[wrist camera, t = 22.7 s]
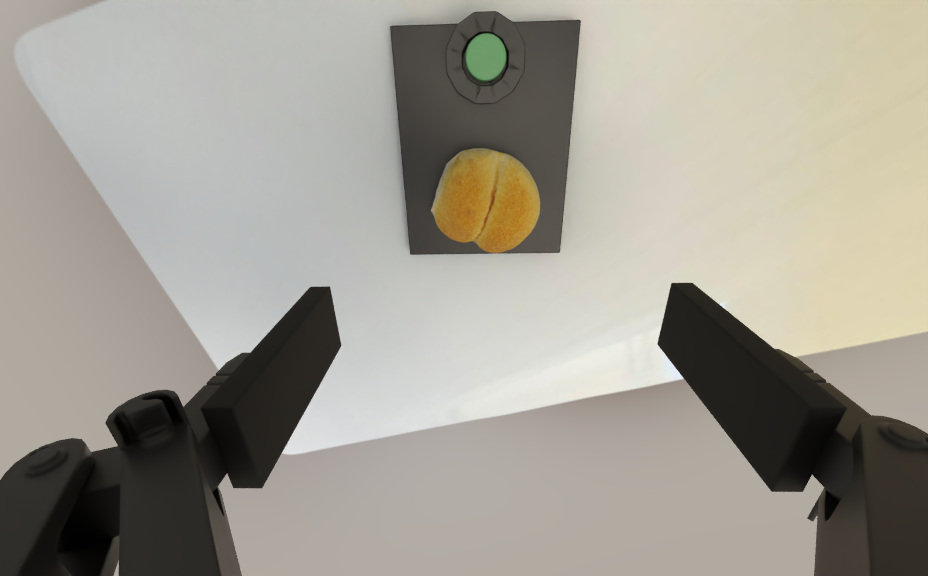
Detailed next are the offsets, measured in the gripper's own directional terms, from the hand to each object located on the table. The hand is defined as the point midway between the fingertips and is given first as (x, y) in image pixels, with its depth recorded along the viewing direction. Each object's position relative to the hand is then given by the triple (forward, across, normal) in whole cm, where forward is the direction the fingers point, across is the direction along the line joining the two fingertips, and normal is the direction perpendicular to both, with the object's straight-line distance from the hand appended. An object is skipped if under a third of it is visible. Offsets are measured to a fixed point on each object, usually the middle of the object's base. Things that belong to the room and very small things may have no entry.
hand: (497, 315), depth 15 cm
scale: (+22, 0, +4) cm, 22 cm away
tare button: (+19, 0, +10) cm, 22 cm away
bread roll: (+21, 0, 0) cm, 21 cm away
